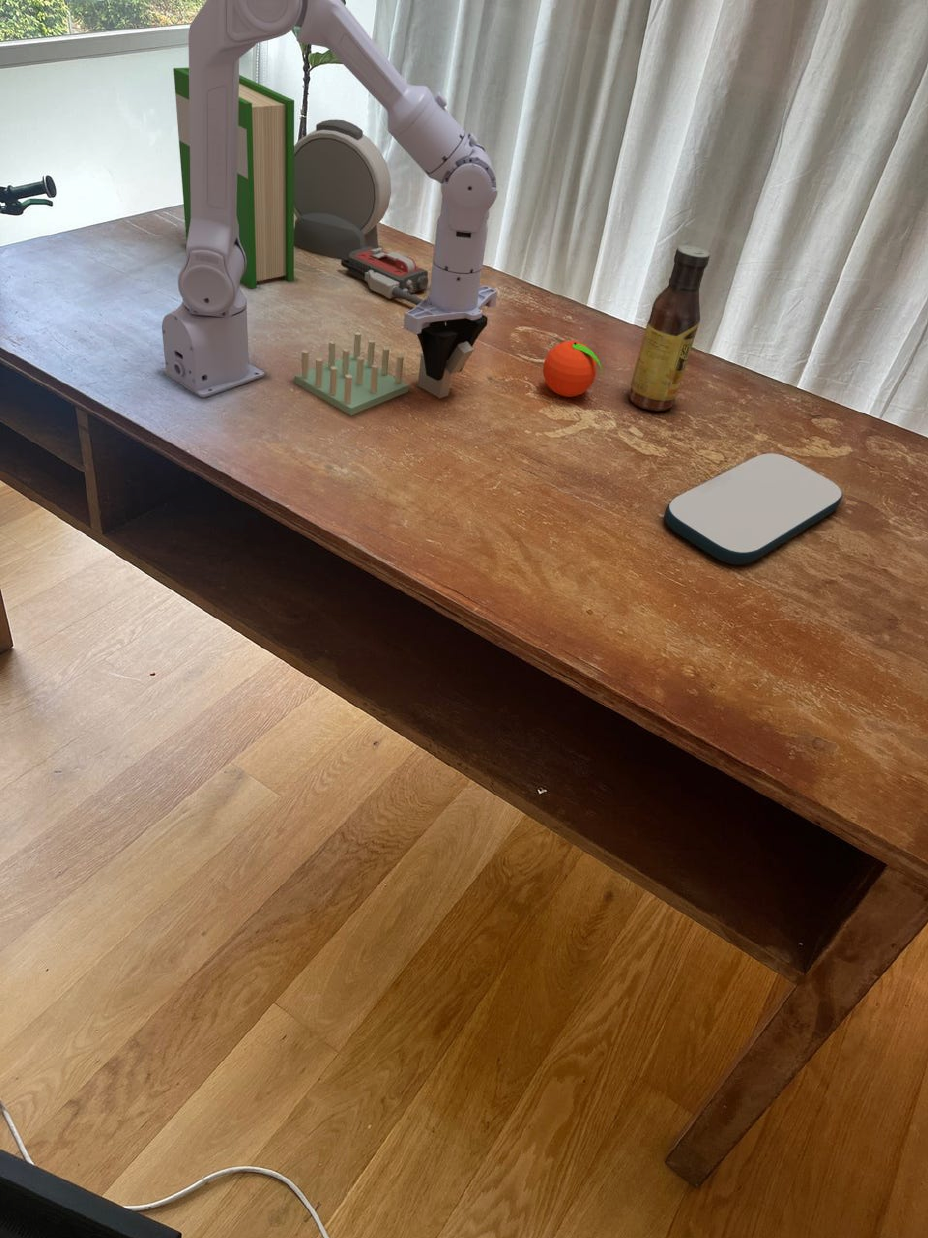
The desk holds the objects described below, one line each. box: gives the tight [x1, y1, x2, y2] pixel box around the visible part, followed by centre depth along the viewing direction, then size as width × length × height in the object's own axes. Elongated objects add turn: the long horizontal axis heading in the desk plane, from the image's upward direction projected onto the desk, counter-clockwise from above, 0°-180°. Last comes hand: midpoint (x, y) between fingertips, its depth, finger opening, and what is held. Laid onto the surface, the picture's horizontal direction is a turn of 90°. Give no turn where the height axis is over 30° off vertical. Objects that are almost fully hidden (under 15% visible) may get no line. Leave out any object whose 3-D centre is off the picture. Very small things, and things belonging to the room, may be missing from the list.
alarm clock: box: [294, 119, 392, 260], centre depth 140 cm, size 16×10×18 cm, turn 74°
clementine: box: [542, 340, 603, 398], centre depth 115 cm, size 8×7×7 cm
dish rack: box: [294, 331, 410, 417], centre depth 110 cm, size 10×10×4 cm
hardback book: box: [172, 67, 295, 290], centre depth 128 cm, size 18×7×24 cm, turn 43°
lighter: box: [417, 341, 475, 399], centre depth 111 cm, size 7×2×8 cm, turn 48°
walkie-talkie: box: [340, 246, 429, 306], centre depth 134 cm, size 9×4×20 cm
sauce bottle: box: [628, 244, 711, 412], centre depth 113 cm, size 6×6×20 cm
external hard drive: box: [663, 452, 843, 565], centre depth 101 cm, size 24×12×2 cm, turn 133°
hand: (444, 372), depth 111 cm, fingers open, 3 cm apart
